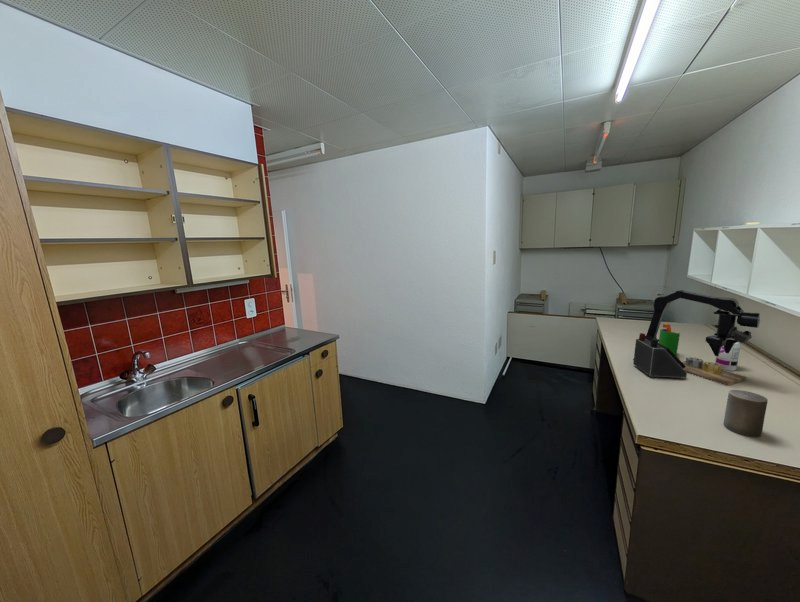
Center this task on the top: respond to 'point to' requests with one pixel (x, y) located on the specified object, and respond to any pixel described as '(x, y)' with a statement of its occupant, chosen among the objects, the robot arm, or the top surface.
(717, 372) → the brass gear
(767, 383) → the top surface
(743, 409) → the pillar candle
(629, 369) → the top surface
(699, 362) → the steel gear
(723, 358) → the supplement can
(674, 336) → the motor
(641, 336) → the voltmeter
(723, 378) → the board
